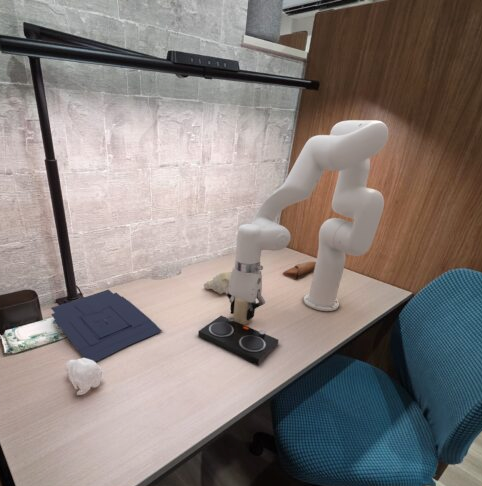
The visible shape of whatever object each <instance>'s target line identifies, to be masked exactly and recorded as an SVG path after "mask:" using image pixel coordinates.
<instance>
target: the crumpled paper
mask: <svg viewBox="0 0 482 486" xmlns="http://www.w3.org/2000/svg"><path fill="white" fill-rule="evenodd" d="M65 372H67V373H66V377H67V378H68V379H69V381H70V383H71V384H72V385H73V388H74V390H77V389H78V388H79V390H78V391H76V395H77V396H82V395H85V394H87V393H88V392H89V391H90V390H91V388H92V389H93V388H97V387H100V385H101V381H102V378H103V369H102V368H101V367H100V366H99V364H98V363H97V361H96V362H94V361H93V360H90V359H87V358H84V357H80V358H78V359H69V360H67V362H66V364H65Z"/></svg>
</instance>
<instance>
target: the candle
mask: <svg viewBox="0 0 482 486" xmlns="http://www.w3.org/2000/svg"><path fill="white" fill-rule="evenodd" d="M248 309H249V304H248V301H245V300H243V299H241V298H237V297H235V304H234V313H233V314H232V315H233V316H232V318H234V319H235V322H238V323H240V324H243V325H247V324H249V322H250V320H249V321H248V320H247V311H248Z"/></svg>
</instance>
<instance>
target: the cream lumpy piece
mask: <svg viewBox="0 0 482 486" xmlns="http://www.w3.org/2000/svg"><path fill="white" fill-rule="evenodd" d="M231 272H232V271H229V272H222V273H219V274H216V275H215V276H214V277H212V279H210V280H209V281H207V282H205V283H203V288H204V289H206V290H212V291H214V292H216V293H218V294H219V295H222V294H226V293H225V291H224V288H225V287H227V286H228V285H229V281H230V276H231Z"/></svg>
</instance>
